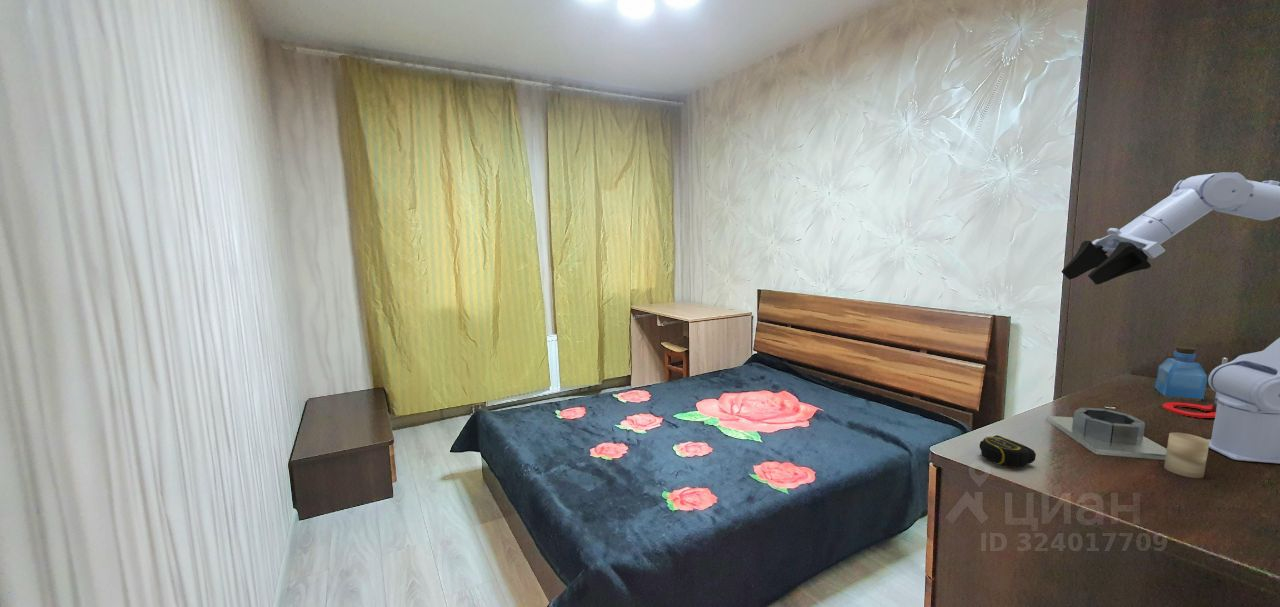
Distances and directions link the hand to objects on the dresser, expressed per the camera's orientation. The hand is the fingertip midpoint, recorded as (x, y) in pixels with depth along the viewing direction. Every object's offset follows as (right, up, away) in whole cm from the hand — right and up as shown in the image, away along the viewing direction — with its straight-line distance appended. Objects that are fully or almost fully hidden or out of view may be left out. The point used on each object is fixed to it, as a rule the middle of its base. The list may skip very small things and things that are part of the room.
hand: (1078, 277), depth 87 cm
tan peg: (+10, -33, -8) cm, 36 cm away
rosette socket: (+10, -31, +5) cm, 33 cm away
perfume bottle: (+49, -27, +26) cm, 61 cm away
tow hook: (+40, -29, +16) cm, 52 cm away
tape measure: (-16, -33, -3) cm, 37 cm away
